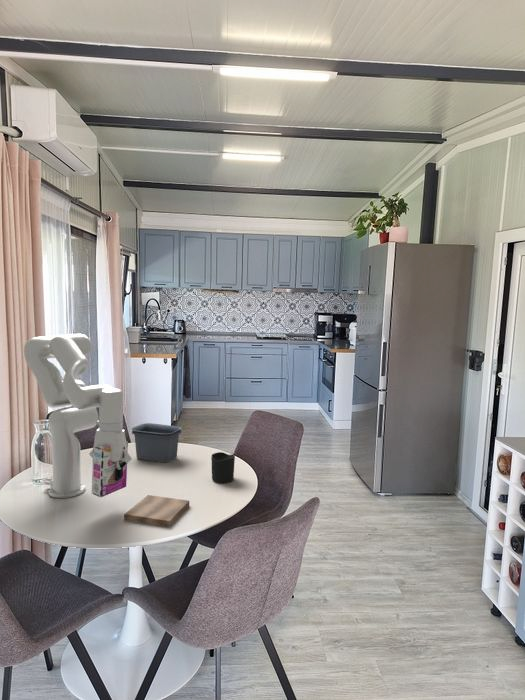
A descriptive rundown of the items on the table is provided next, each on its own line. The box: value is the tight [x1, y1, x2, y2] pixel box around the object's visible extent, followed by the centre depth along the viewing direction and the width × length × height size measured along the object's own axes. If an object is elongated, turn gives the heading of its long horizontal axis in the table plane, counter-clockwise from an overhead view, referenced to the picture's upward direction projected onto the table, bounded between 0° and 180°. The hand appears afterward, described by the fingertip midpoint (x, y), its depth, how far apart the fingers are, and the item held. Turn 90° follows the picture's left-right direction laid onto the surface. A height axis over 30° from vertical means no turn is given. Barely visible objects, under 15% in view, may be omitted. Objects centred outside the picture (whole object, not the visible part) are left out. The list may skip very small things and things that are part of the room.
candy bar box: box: [91, 440, 129, 498], centre depth 156 cm, size 11×5×16 cm, turn 150°
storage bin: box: [130, 422, 183, 464], centre depth 212 cm, size 21×16×14 cm
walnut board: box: [123, 494, 190, 528], centre depth 157 cm, size 16×16×2 cm
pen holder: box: [210, 451, 236, 484], centre depth 188 cm, size 9×9×10 cm
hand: (110, 477), depth 156 cm, fingers closed on candy bar box, 5 cm apart
